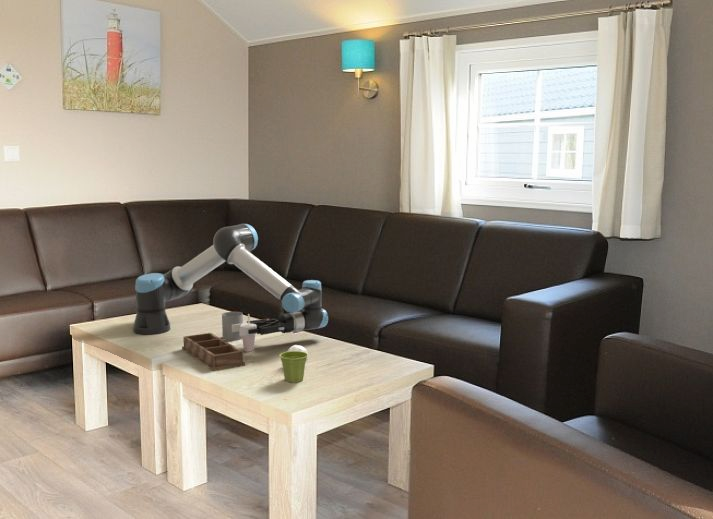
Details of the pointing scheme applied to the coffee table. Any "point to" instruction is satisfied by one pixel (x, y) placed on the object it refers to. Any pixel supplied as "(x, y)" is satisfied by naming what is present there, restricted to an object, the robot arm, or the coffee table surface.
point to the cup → (227, 323)
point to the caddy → (213, 351)
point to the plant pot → (293, 365)
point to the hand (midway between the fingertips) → (235, 330)
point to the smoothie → (248, 337)
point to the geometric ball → (298, 349)
